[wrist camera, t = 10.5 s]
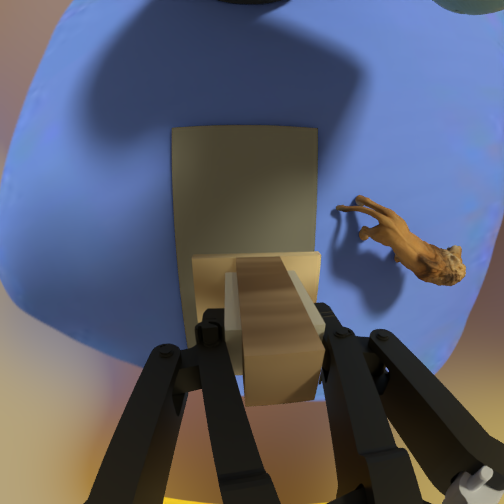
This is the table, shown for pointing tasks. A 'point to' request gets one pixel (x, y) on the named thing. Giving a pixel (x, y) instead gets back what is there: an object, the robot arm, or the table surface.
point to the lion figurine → (410, 245)
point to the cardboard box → (268, 320)
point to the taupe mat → (241, 195)
